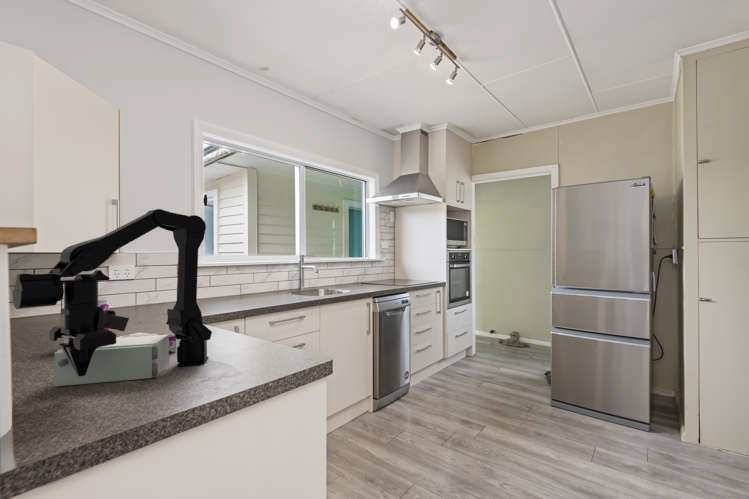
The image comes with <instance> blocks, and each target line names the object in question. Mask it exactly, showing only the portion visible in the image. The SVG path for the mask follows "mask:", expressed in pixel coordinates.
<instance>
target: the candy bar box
mask: <svg viewBox="0 0 749 499" xmlns="http://www.w3.org/2000/svg"><path fill="white" fill-rule="evenodd" d="M154 335H164V334H162V333H161V334H160V333H151V332H143V331H139V332H134V333H130V334H125V335H120V336H116V338H122V337H138V336H154ZM168 335H169V354H170V353H172V352H177V339H176V336H175V335H171V334H168Z"/></svg>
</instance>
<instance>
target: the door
mask: <svg viewBox="0 0 749 499" xmlns="http://www.w3.org/2000/svg"><path fill="white" fill-rule="evenodd" d="M53 354H54V358H53V359H54V362H53V363H54V365H53V366H54V370H53V371H54V376H53V377H54V387H59V386H60V387H62V386H64V387H65V386H73V385H74V386H75V385H85V384H96V383H98V384H99V383H108V382H119V381H121V382H122V381H130V380H131V381H133V380H142V379H143V380H144V379H152V378H154V377H153V376H157V375H158V363H153V359H158V346H154V347H153V345H147V346H132V347H117V348H102V349H96V350H95V351H94V353H93V355H92V358H91V361H90V364H89V367H88V370H87V373H86V375H85V376H81V377H80V376H78V375H77V373H76V371H75V370H74V368H73V366H72V365H71V363H70V361H69V360H68V358H67V357H66V355H65V353H64V352H63V351H58V350H57V351H55V352H54V353H53ZM158 376H159V375H158ZM158 376H157V377H158Z"/></svg>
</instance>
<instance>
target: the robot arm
mask: <svg viewBox="0 0 749 499" xmlns="http://www.w3.org/2000/svg"><path fill="white" fill-rule="evenodd" d="M157 228H160V229H163V230H166V231H168V232H172V235H173V240H174V242H175V245H176V246H177V250H178V251H177V253H178V256H177V281H176V282H177V283H176V285H177V286H176V303H175V304H174V306H173V308H167V310H166V314H167V321H166V323H165V324H166V325H168V329H169V331H170V332H171V333H172V334H174V336H176V340H177V341H178V340H179V341H178V346H176V362H177V365H176V366H177V367H185V366H197V365H199V366H200V365H205V363H206V362H207V361H208V359H209V356H208V351H207V350H208V341H209V340H211V337H212V334H213V331H212V330H211V329H209V328H208V327H207V326H205V325H204V321H203V315H202V311H201V308H200V307H199V306H200V305H199V304H198V299H197V298H198V295H197V294H198V271H199V270H198V269H199V267H198V265H199V249H200V248H201V245H202V243H203V241H204V239H205V235H206V229H207V224H206V221H205V220H204V219H203V218H202V217H201V216H199V215H196V214H195V215H193V214H192V215H187V214H182V213H176V212H171V211H168V210H164V209H163V208H157V209H152V210H149V211H147V212H145V214H142V215H141V216H138V217H137V218H135V219H133V220H131V221H128V222H127V223H126V224H123V225H121V226H119V227H117V228H115V229H113V230H112V231H110V232H108V233H106V234H104V235H101V236H99V237H96V238H92V239H87V240H84V241H82V242H79V243H75V244H73V245H72V244H71V245H70V246H67V247H65V248H64V249H62V251H61V253H60V258H59V259H60V260H59V261H58V262H57V263H56V264H55V266H53V267H52V268H51V269H50V270H49V272H48V273H33V274H32V273H18V274H16V280H15V282H14V287H13V289H12V294H11V295H12V303H13V306H14V308H15V309H16V310H23V309H24V310H25V309H33V308H41V307H42V308H43V307H53V306H56V305H57V303H58V302H61V301H62V300H63V306H64V307H63V308H60V314H62V315H64V316H63V321H64V322H63V323H64V324H63V325H56V326H53V327H52V328H51V329H50V330H49V331H48V339H49V341H52V342H55V341H58V339H63V342H62V343H59V344H58V346H59V347H60V349H62V350H63V352H64V353H65V355H66V357H67V358H68V360H69V361H70V363H71V365H72V366H73V368H74V370H75V371H76V373H77V375H78V376H80V377H81V376H85V375H86V373H87V370H88V367H89V364H90V361H91V358H92V355H93V353H94V351H95V350H96V349H97V348H98V347H102V346H108V345H113V344H116V337H117V334H116V333H115V332H114V331H112V330H115V331H116V330H117V331H119V332H125V331H126V329H127V328H126V327H127V326H128V323H129V320H130V317H127V316H126V317H125V316H120V315H116V314H117V312H116V311H115V310H110V309H109V310H105V311H104V310H103V308H102V307H101V306H98V298H99V282H103V281H104V282H105V281H110V277H109V276H108V275H106V274H105V273H104V272H102V270H100V269H99V270H98V268H99V267H100V266H101V265H102V264H104V263H105V262H106V261H107V260H109V259H110V258H111V256H112V255H113V254H114V253H116V252H117V251H118V250H119V249H121V248H123V247H124V246H127V244H130V243H132V242H133V241H135V240H137V239H139V238H140V237H143V236H145V235H146V234H148V233H150V232H151V231H153V230H155V229H157ZM91 271H94V272H92V273H83V272H91ZM61 278H73V279H61ZM105 328H109V330H105ZM110 329H111V330H110Z"/></svg>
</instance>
